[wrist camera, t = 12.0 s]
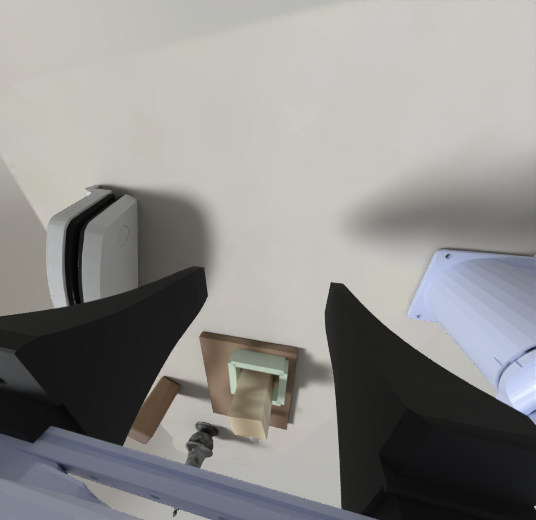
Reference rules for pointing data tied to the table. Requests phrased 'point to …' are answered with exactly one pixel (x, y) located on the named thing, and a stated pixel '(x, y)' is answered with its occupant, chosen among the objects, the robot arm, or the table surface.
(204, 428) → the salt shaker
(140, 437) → the wooden block
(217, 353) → the walnut board
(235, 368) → the socket collar
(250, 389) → the maple peg
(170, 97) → the table surface
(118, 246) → the white rounded block
